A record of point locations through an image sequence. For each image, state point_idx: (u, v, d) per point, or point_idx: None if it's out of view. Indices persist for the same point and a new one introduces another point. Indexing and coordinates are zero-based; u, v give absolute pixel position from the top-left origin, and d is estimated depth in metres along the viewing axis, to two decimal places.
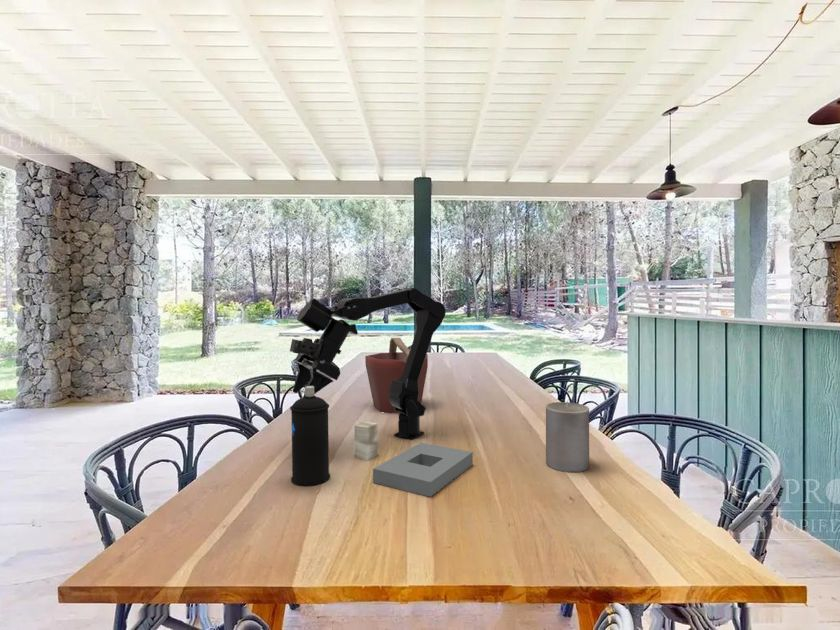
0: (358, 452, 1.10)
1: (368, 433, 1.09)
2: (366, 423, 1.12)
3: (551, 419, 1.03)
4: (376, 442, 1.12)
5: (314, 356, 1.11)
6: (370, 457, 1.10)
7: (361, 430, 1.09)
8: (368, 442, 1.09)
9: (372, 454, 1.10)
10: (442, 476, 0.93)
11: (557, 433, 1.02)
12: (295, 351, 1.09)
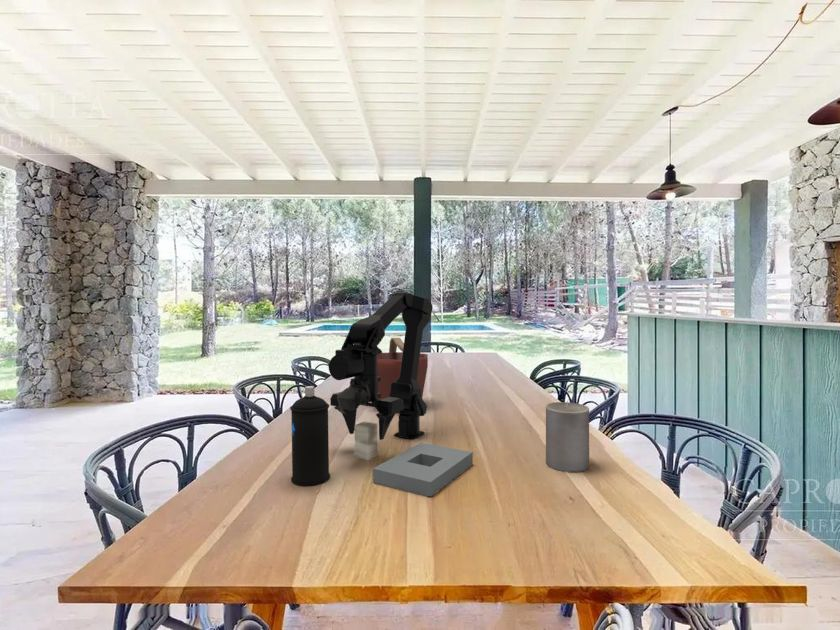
0: (358, 452, 1.10)
1: (368, 433, 1.09)
2: (366, 423, 1.12)
3: (551, 419, 1.03)
4: (376, 442, 1.12)
5: (368, 400, 1.07)
6: (370, 457, 1.10)
7: (361, 430, 1.09)
8: (368, 442, 1.09)
9: (372, 454, 1.10)
10: (442, 476, 0.93)
11: (557, 433, 1.02)
12: (354, 408, 1.04)
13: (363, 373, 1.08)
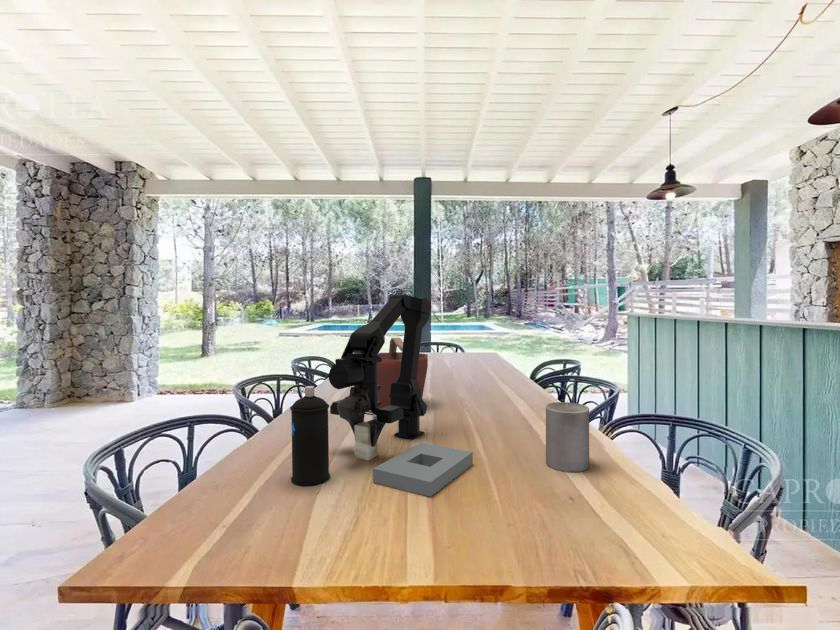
0: (358, 452, 1.10)
1: (368, 433, 1.09)
2: (366, 423, 1.12)
3: (551, 419, 1.03)
4: None
5: (368, 408, 1.07)
6: (370, 457, 1.10)
7: (361, 430, 1.09)
8: (368, 442, 1.09)
9: (372, 454, 1.10)
10: (442, 476, 0.93)
11: (557, 433, 1.02)
12: (353, 417, 1.04)
13: (363, 382, 1.08)
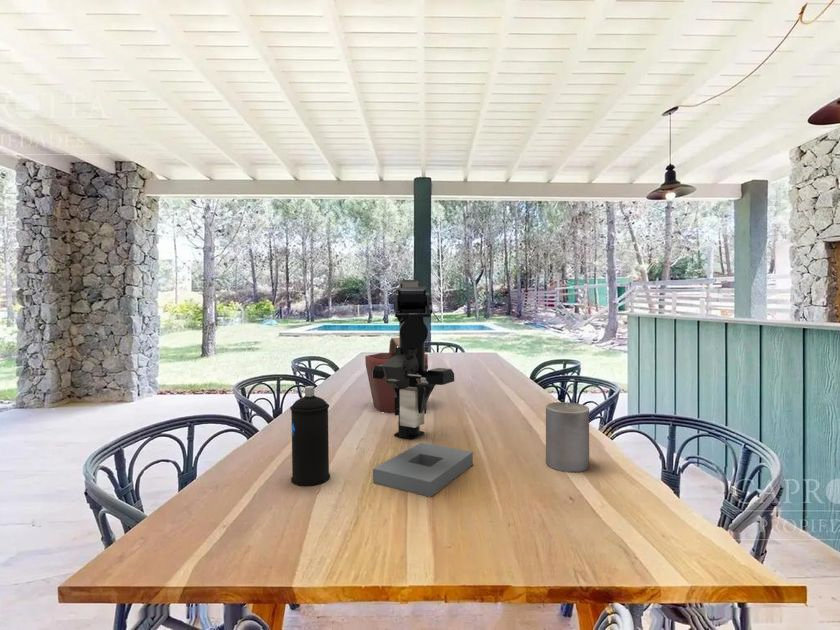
0: (404, 419, 1.01)
1: (416, 398, 0.99)
2: (412, 388, 1.02)
3: (551, 419, 1.03)
4: None
5: (416, 370, 0.98)
6: (417, 424, 1.00)
7: (408, 395, 1.00)
8: (415, 407, 0.99)
9: (419, 421, 1.01)
10: (442, 476, 0.93)
11: (557, 433, 1.02)
12: (401, 378, 0.94)
13: None
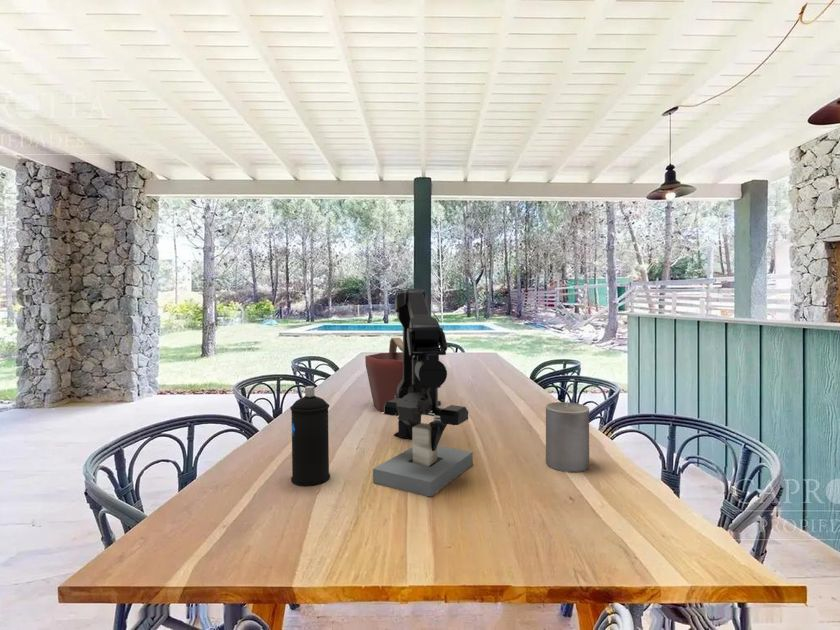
0: (417, 457, 0.99)
1: (429, 436, 0.98)
2: (425, 425, 1.01)
3: (551, 419, 1.03)
4: None
5: None
6: (430, 462, 0.99)
7: (421, 433, 0.98)
8: (429, 445, 0.98)
9: (432, 459, 0.99)
10: (442, 476, 0.93)
11: (557, 433, 1.02)
12: (416, 418, 0.93)
13: None
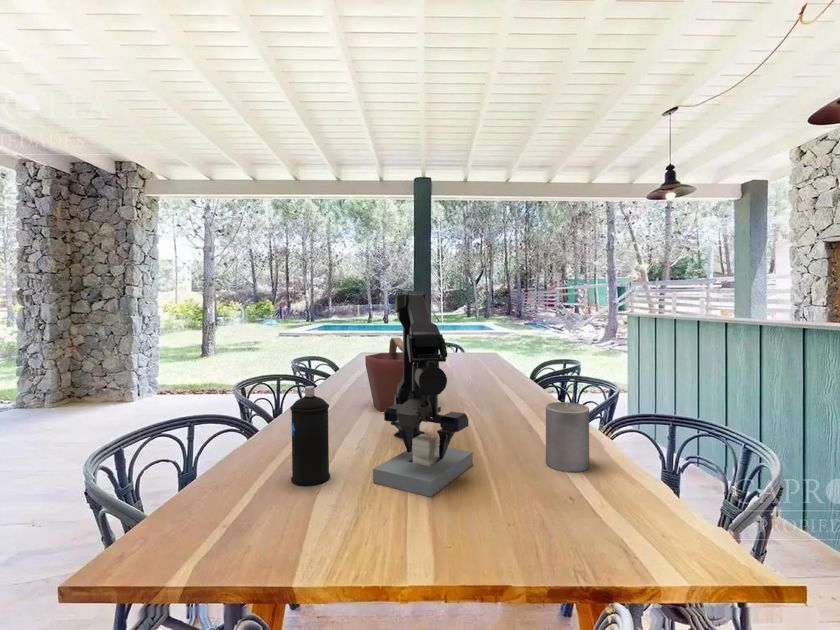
0: None
1: (429, 448, 0.98)
2: (425, 436, 1.01)
3: (551, 419, 1.03)
4: (436, 457, 1.01)
5: None
6: None
7: (421, 445, 0.99)
8: (429, 457, 0.98)
9: None
10: (442, 476, 0.93)
11: (557, 433, 1.02)
12: (416, 425, 0.93)
13: None
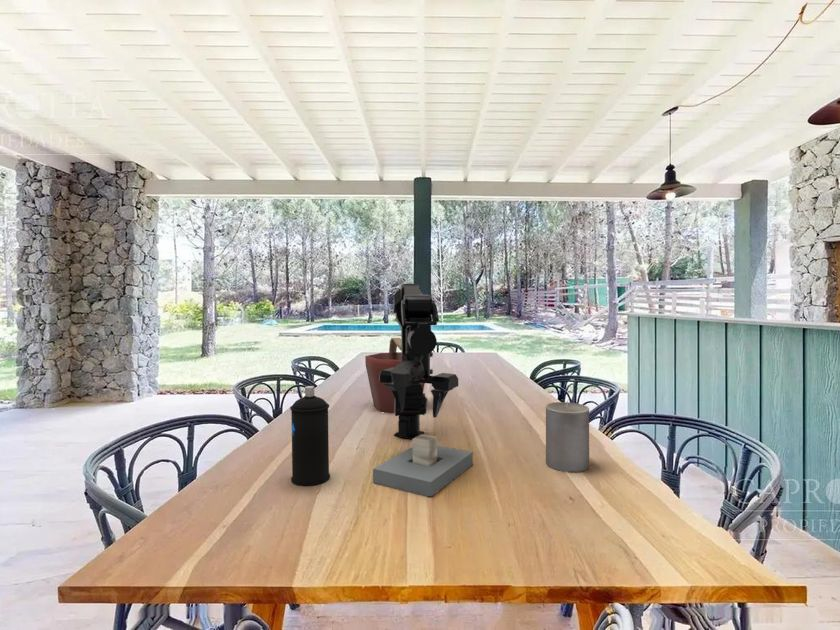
0: None
1: (429, 448, 0.98)
2: (425, 436, 1.01)
3: (551, 419, 1.03)
4: (436, 457, 1.01)
5: (422, 375, 1.02)
6: None
7: (421, 445, 0.99)
8: (429, 457, 0.98)
9: None
10: (442, 476, 0.93)
11: (557, 433, 1.02)
12: (409, 384, 0.99)
13: None
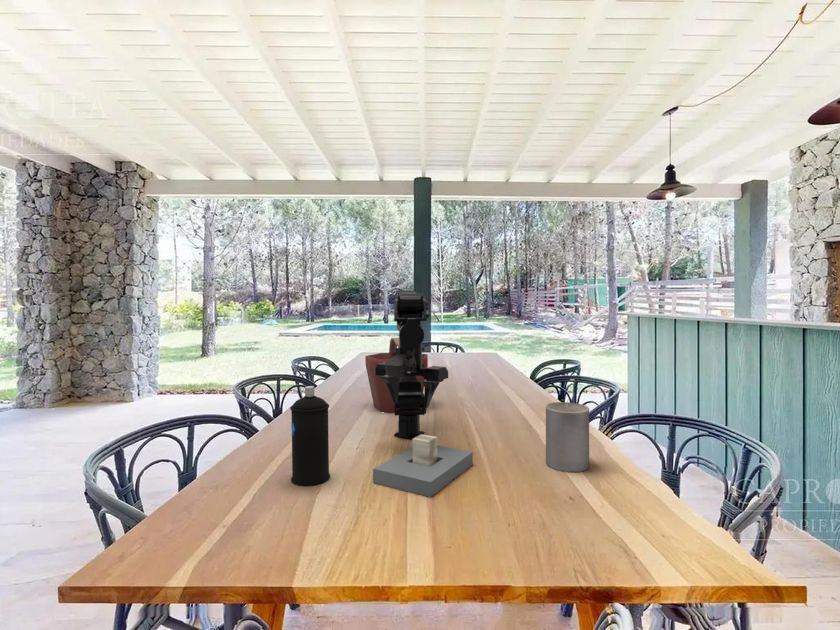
0: None
1: (429, 448, 0.98)
2: (425, 436, 1.01)
3: (551, 419, 1.03)
4: (436, 457, 1.01)
5: (414, 368, 1.10)
6: None
7: (421, 445, 0.98)
8: (429, 457, 0.98)
9: None
10: (442, 476, 0.93)
11: (557, 433, 1.02)
12: (401, 375, 1.06)
13: None
